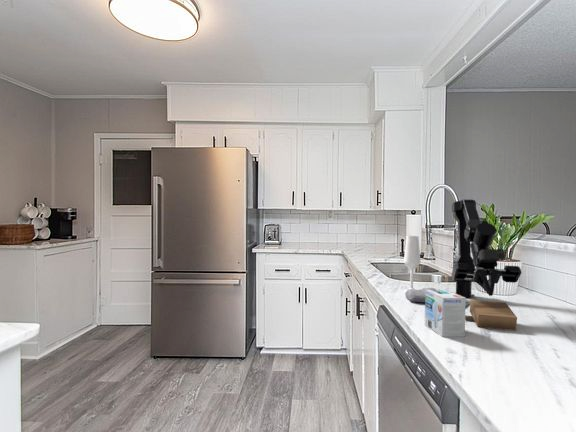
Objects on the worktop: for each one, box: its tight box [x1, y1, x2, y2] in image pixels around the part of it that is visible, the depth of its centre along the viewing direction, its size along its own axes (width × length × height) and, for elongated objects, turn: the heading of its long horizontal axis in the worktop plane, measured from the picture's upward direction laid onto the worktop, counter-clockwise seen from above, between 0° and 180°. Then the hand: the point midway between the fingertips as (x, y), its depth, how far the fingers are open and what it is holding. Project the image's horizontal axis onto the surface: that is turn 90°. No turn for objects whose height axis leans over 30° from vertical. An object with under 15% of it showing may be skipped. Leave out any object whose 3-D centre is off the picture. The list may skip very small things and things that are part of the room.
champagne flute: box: [403, 235, 421, 293], centre depth 149 cm, size 7×7×24 cm
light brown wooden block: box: [469, 299, 518, 331], centre depth 107 cm, size 4×10×10 cm
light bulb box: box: [424, 289, 467, 338], centre depth 100 cm, size 11×7×11 cm, turn 5°
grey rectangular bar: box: [465, 314, 475, 322], centre depth 109 cm, size 2×14×1 cm, turn 75°
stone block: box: [404, 287, 438, 303], centre depth 134 cm, size 12×5×10 cm
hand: (491, 295), depth 108 cm, fingers closed
